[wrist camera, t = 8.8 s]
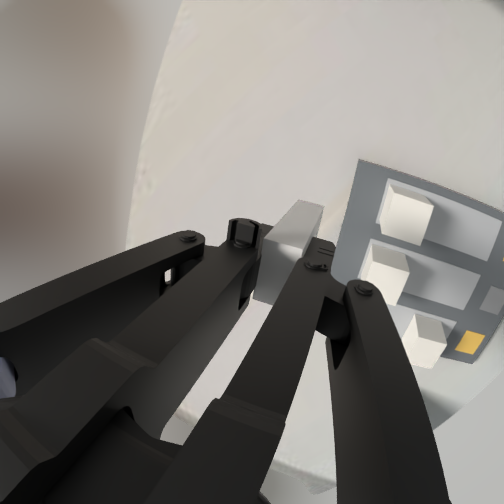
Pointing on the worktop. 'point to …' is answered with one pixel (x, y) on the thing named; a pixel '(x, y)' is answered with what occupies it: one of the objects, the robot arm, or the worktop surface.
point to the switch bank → (432, 258)
